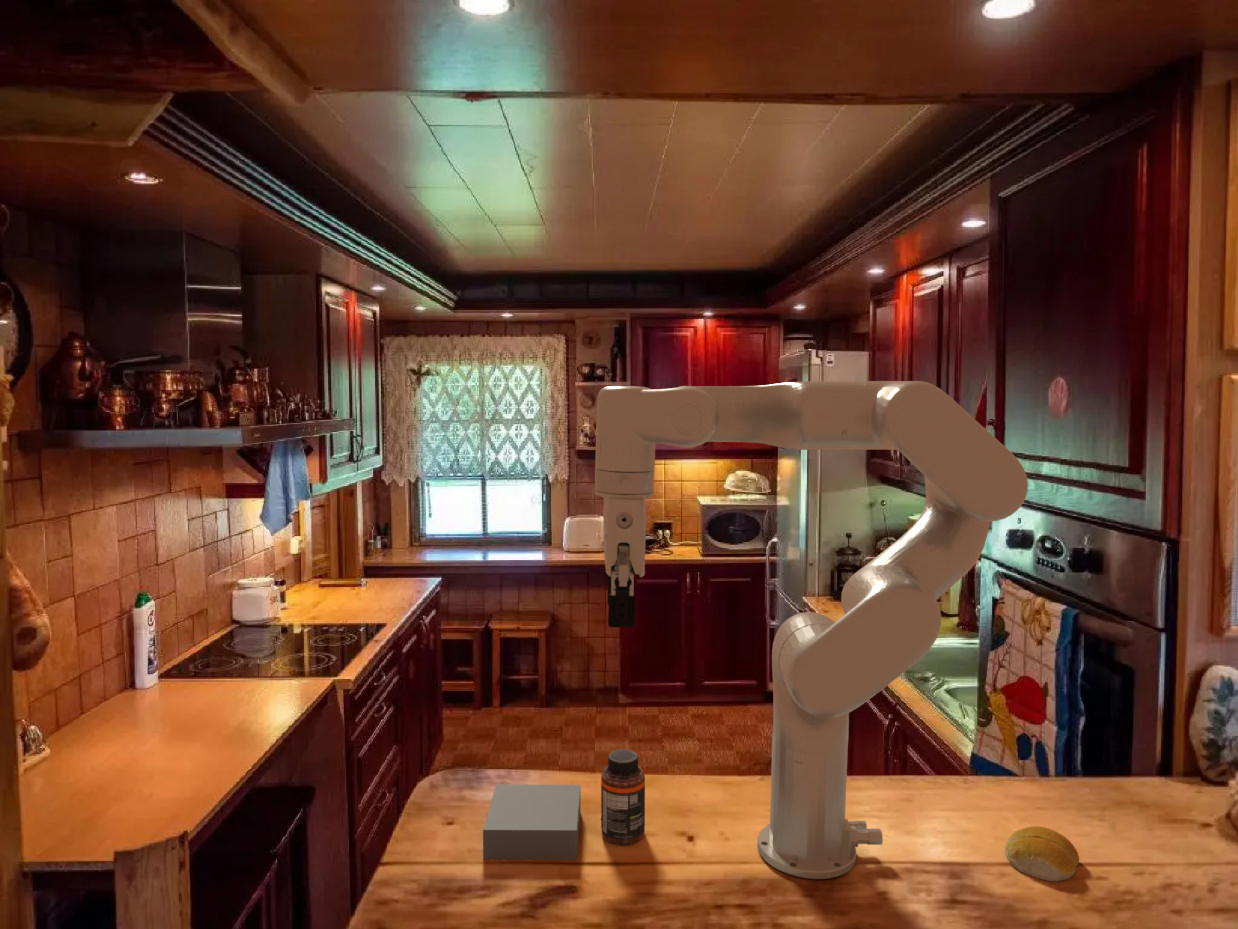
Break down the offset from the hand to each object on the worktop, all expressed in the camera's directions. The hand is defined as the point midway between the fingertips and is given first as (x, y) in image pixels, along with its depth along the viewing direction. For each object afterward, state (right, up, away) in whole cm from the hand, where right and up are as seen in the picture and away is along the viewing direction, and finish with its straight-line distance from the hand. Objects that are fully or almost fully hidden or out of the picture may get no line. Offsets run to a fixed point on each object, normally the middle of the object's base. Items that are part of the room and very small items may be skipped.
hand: (620, 615), depth 106 cm
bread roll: (+54, -32, 0) cm, 63 cm away
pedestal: (-12, -31, +6) cm, 33 cm away
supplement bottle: (0, -31, +6) cm, 32 cm away
